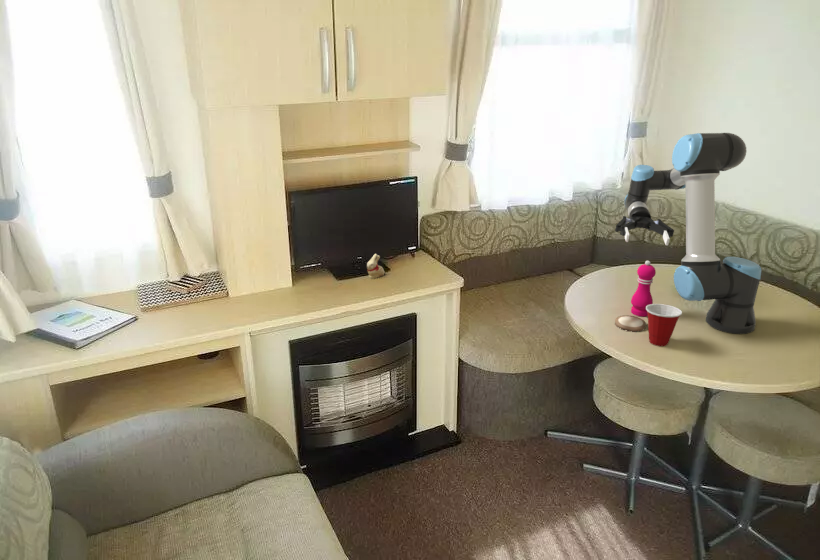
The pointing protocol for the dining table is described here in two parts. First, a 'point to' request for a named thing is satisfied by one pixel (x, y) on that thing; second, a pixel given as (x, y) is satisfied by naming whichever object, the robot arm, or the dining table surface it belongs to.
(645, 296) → the pepper mill
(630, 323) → the brown cream oval disc
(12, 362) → the dining table surface
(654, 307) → the plastic cup
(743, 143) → the robot arm
